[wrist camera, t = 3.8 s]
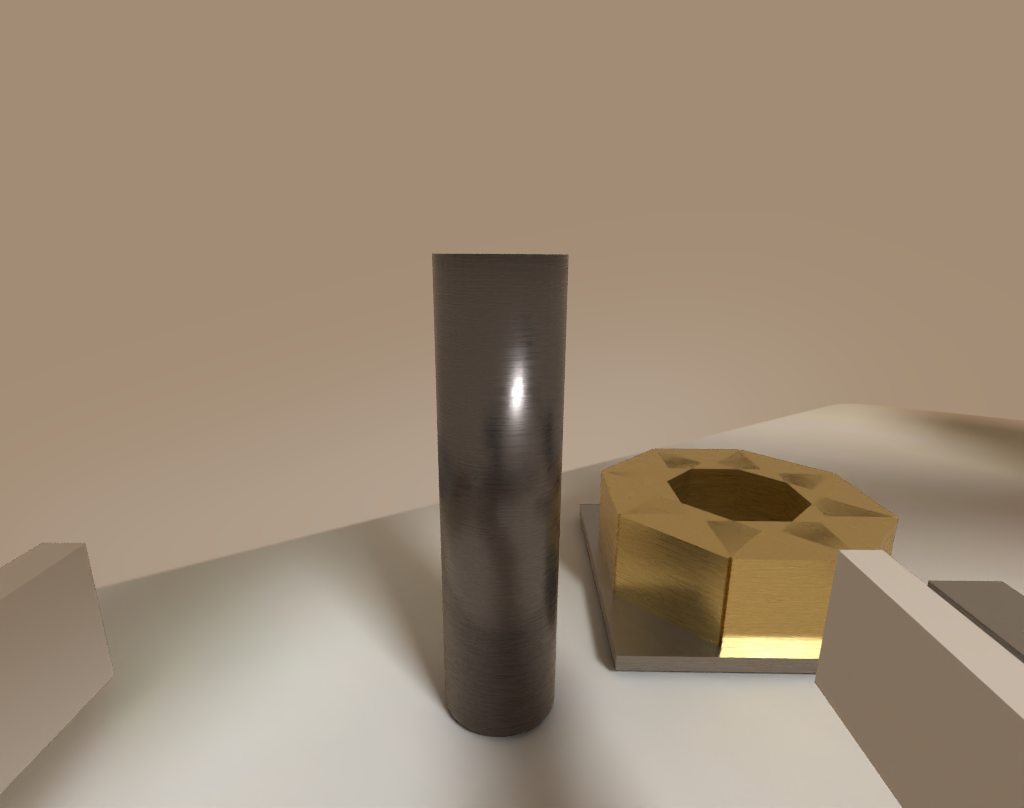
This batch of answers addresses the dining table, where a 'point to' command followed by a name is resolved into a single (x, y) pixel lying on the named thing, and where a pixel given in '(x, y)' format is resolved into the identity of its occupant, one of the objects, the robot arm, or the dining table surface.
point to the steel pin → (500, 481)
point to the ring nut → (722, 558)
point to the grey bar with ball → (988, 609)
